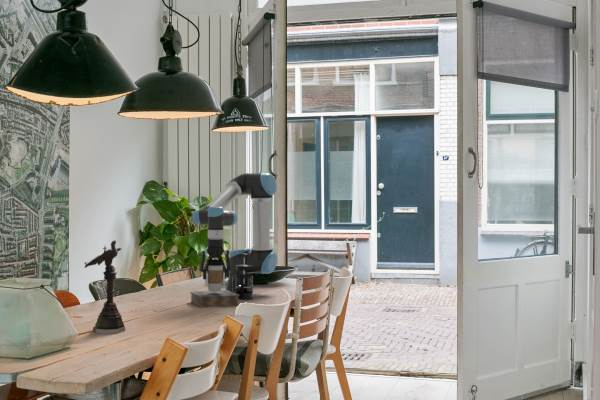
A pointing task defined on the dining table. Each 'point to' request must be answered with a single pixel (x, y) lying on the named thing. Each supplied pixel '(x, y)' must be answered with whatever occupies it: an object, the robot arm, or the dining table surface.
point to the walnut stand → (214, 298)
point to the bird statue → (108, 295)
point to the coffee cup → (215, 274)
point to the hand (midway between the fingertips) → (214, 285)
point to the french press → (243, 282)
